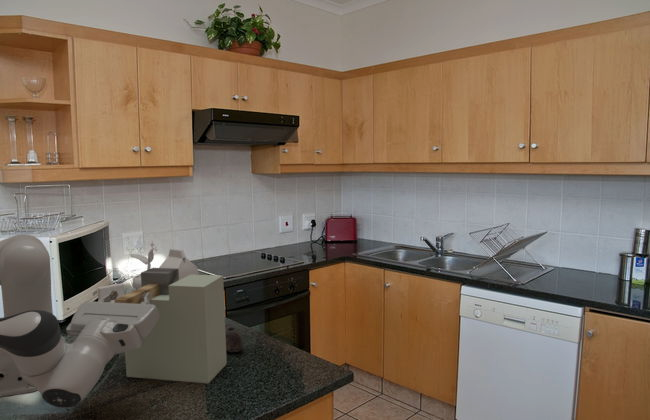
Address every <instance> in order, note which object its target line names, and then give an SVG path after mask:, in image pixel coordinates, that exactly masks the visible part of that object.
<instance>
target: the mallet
mask: <svg viewBox="0 0 650 420" xmlns="http://www.w3.org/2000/svg"><path fill="white" fill-rule="evenodd" d="M140 274H141V285H142V287H141V288H139V289H137V290H136V289H135V290H132V291H129V292H128V293H126V294H124V295H123V296H121V297H119V298H117V299H115V303H132V304H141V302H144V301H143V299H142V297H141V296H142V295H143V293H144V292H150V293H151V295H152V298H151V299H153V298H155V297H157V296H159V295H169V285H171V284H173V283H175V282H177V281H179V270H178V268H159V267H151V268H150V269H148V270H147V269H146V270H144V271H142V272H140ZM151 299H150V300H151Z"/></svg>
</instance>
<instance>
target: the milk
mask: <svg viewBox="0 0 650 420" xmlns="http://www.w3.org/2000/svg"><path fill="white" fill-rule="evenodd" d="M158 268H178V270H179V280H181V279H183V278H185V277H187V276H188V275H200V273H199V269H198V267H197V265H195V264H194V263H193V262H192V261H191V260H189V258H187V257H186V254H185V252H184V250H183V249H177V248H171V249H169V252H168V256H167V257H166V259H164V261H163V262H162V263H161V264H160V266H159V267H158Z"/></svg>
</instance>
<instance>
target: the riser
mask: <svg viewBox="0 0 650 420" xmlns="http://www.w3.org/2000/svg"><path fill="white" fill-rule="evenodd" d="M224 287H225V286H224V275H220V274H219V275H218V274H216V275H214V274H211V275H210V274H209V275H208V274H199V275H188V276H187V277H185V278H183V279H181V280H179V281H177V282H175V283H173V284H171V285H169V295H159V296H157V297H155V298H153V299H151V300H150V301H149V303H150V304H153V305H155V306H156V308H157V310H158V312H159V319H158V321H157V323H156V325H155V326H154V328H153V329H152V331H151V332H150V333H149V335H148V336H146V337H145V338H143V339H141V340H142V345H141V347H140V348H139V349H136V350H131V351H126V352H124V356H125V357H124V358H125V370H126V371H125V373H126V378H137V379H149V380H163V381H171V382H172V381H174V382H183V383H184V382H186V383H197V384H210V382H211V381H213V379H214V378H215V377H216V376H217V375H218V374H219V373H220V372H221V371H222V369H224V367H225V366H226V365H227V364H228V363H227V359H228V358H227V350H226V335H225V325H226V317H225V315H226V311H225V310H226V309H225V294H224V293H225V288H224Z"/></svg>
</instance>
